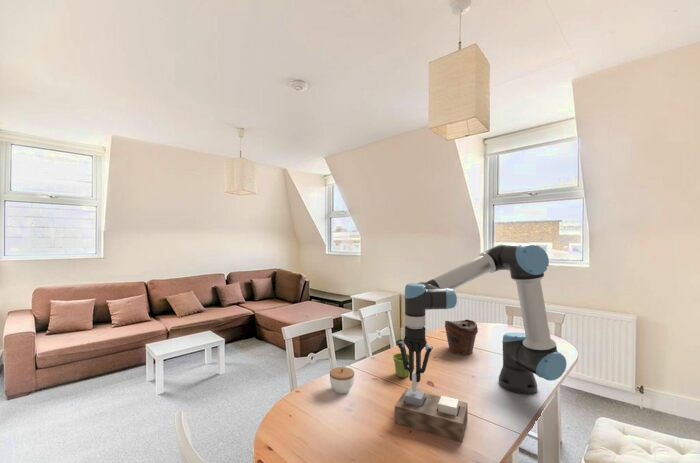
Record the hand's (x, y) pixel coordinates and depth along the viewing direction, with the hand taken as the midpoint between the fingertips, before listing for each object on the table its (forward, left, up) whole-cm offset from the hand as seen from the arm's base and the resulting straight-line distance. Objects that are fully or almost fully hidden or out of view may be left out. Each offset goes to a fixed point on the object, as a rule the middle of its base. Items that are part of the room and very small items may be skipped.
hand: (414, 389), depth 114 cm
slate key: (0, 0, -5) cm, 5 cm away
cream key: (-12, 0, -5) cm, 13 cm away
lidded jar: (+33, -5, -10) cm, 35 cm away
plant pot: (+14, -31, -10) cm, 36 cm away
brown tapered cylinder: (-7, -77, -10) cm, 78 cm away
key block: (-6, 0, -10) cm, 12 cm away
